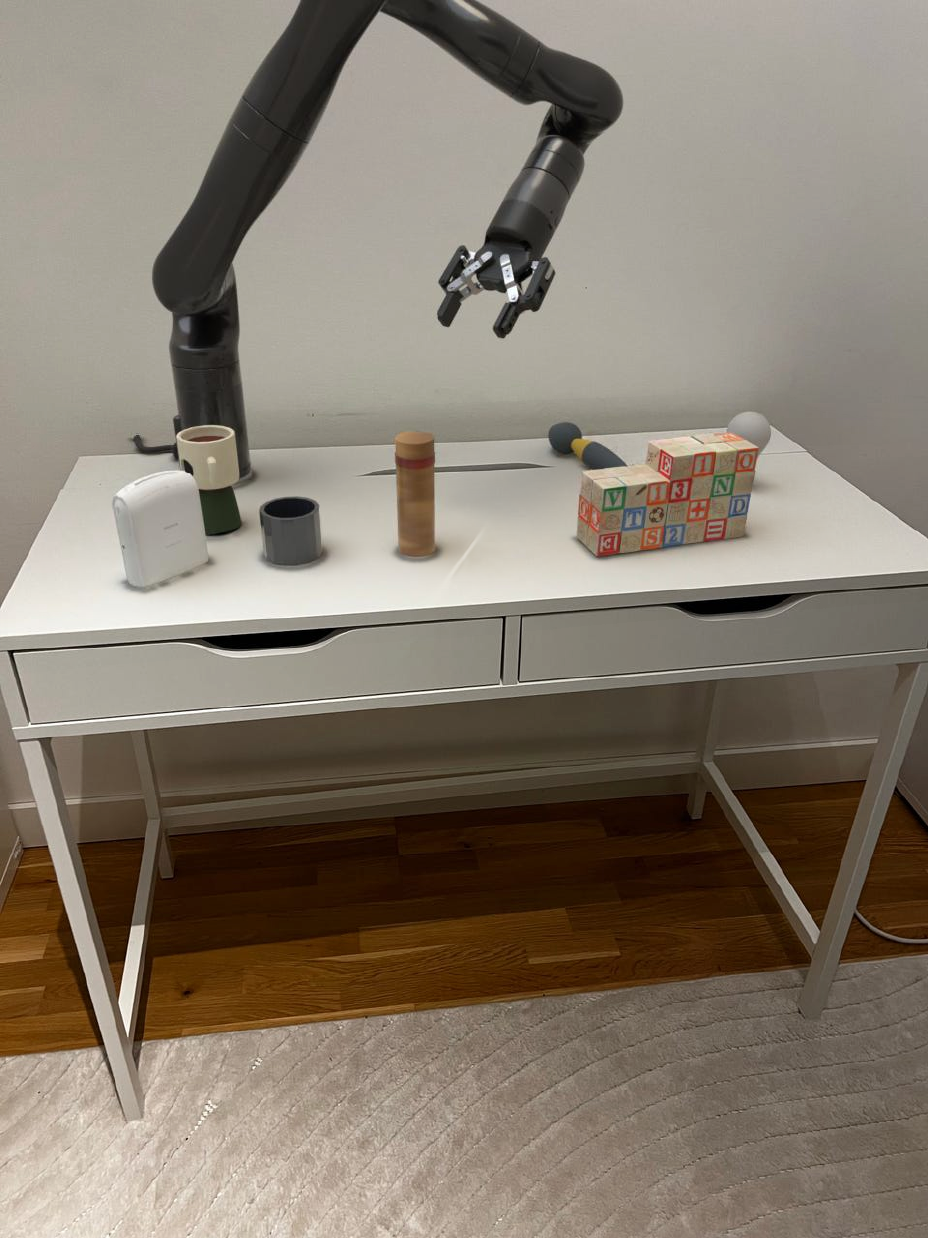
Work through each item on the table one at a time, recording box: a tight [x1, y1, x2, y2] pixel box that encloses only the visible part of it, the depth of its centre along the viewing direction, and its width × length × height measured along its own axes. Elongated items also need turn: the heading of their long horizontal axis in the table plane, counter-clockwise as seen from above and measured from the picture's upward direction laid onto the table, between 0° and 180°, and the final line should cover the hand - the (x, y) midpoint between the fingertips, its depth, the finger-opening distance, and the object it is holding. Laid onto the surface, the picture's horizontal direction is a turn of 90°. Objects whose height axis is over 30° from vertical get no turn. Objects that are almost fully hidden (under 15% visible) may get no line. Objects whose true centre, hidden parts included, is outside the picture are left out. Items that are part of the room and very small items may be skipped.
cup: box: [258, 495, 324, 567], centre depth 119 cm, size 7×7×6 cm
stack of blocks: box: [576, 432, 759, 557], centre depth 123 cm, size 21×6×12 cm, turn 109°
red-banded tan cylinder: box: [394, 430, 436, 558], centre depth 118 cm, size 5×5×15 cm
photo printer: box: [111, 470, 209, 588], centre depth 113 cm, size 10×4×12 cm, turn 140°
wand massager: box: [547, 421, 628, 470], centre depth 148 cm, size 20×5×5 cm, turn 38°
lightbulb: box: [725, 411, 772, 459], centre depth 139 cm, size 6×6×11 cm
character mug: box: [175, 425, 243, 536], centre depth 124 cm, size 11×7×13 cm, turn 19°
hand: (469, 328), depth 118 cm, fingers open, 8 cm apart
